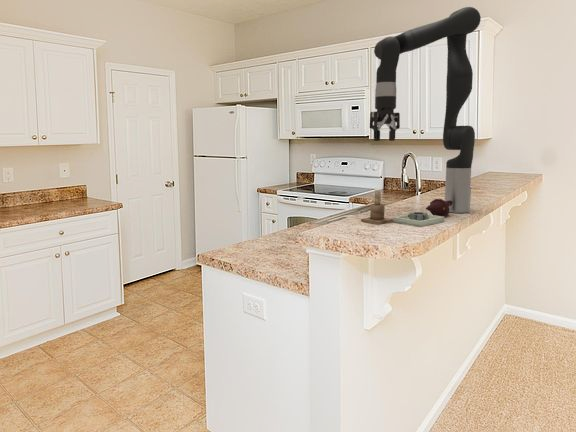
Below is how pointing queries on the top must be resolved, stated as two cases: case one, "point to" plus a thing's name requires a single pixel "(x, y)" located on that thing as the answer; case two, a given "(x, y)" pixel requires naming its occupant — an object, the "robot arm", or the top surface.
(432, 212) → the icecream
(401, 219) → the tray
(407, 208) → the top surface
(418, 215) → the ring
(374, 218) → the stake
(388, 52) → the robot arm
